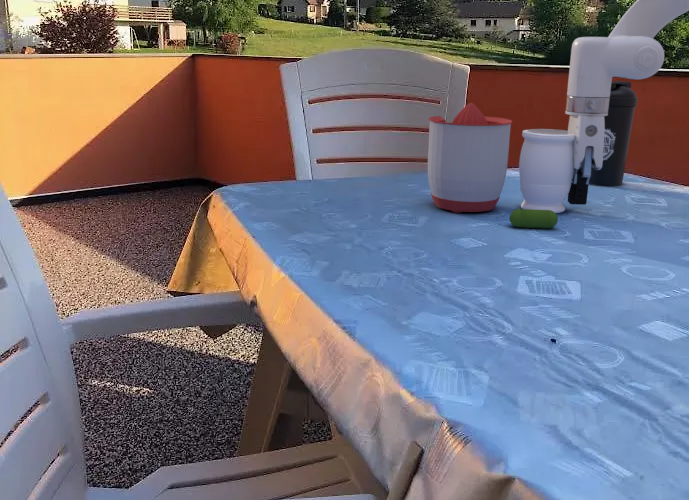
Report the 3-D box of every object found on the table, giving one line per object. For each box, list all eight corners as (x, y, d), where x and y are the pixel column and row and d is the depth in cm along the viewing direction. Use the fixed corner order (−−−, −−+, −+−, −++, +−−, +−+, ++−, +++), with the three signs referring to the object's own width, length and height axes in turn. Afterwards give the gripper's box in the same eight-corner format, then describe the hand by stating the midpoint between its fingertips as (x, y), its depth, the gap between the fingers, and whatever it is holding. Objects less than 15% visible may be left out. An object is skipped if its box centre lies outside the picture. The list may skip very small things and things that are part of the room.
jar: (526, 201, 144) (533, 127, 140) (577, 208, 139) (586, 131, 135) (507, 210, 136) (514, 132, 132) (561, 218, 130) (569, 136, 126)
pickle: (554, 226, 125) (556, 208, 124) (558, 230, 122) (560, 212, 121) (507, 224, 126) (509, 206, 125) (510, 229, 123) (511, 211, 122)
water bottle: (571, 181, 165) (583, 80, 159) (593, 177, 172) (605, 79, 166) (612, 188, 158) (626, 83, 152) (634, 183, 165) (647, 82, 158)
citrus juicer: (476, 195, 149) (483, 98, 143) (520, 214, 133) (530, 106, 128) (408, 198, 144) (412, 98, 139) (445, 218, 129) (452, 107, 123)
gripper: (619, 110, 123) (607, 213, 129) (597, 103, 138) (586, 195, 143) (575, 110, 124) (565, 212, 129) (557, 102, 138) (549, 195, 143)
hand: (576, 203), depth 136 cm, fingers closed
